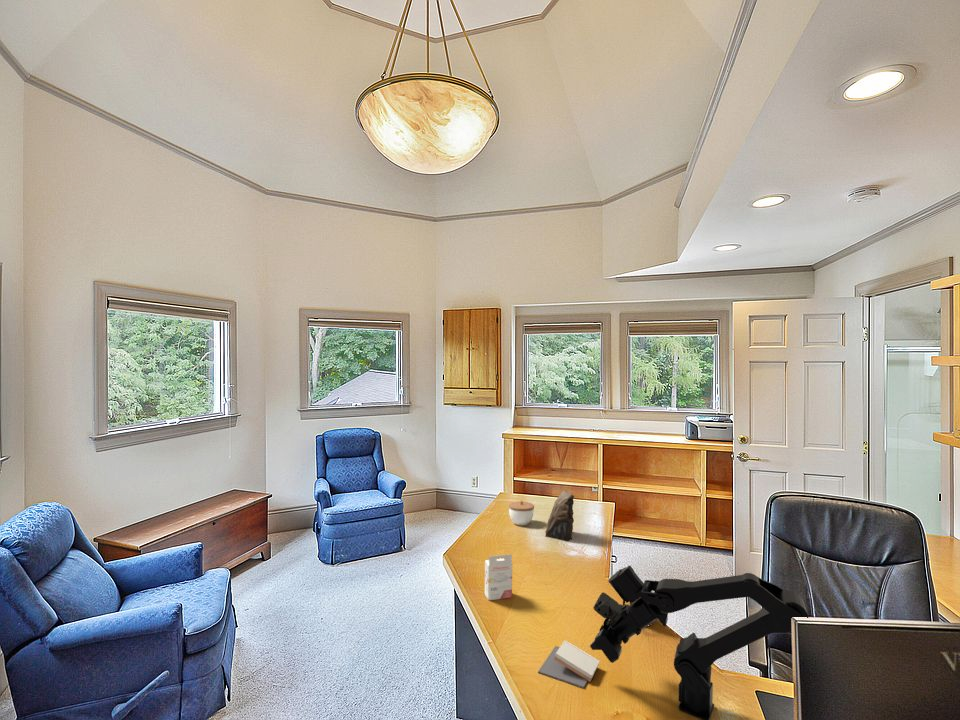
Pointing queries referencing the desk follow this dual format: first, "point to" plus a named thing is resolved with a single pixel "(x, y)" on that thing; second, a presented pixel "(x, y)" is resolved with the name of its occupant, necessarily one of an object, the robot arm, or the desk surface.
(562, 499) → the brown rock
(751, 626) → the robot arm
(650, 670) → the desk surface
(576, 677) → the gray pad
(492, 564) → the ink cartridge box
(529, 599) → the desk surface
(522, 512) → the lidded bowl
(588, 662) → the tile
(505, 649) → the desk surface
